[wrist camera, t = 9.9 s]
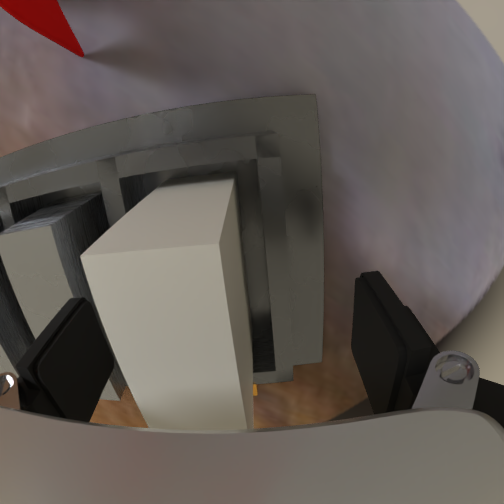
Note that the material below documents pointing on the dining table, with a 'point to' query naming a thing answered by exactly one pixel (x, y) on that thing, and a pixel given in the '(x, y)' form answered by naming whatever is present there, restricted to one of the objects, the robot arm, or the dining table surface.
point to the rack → (147, 180)
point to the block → (179, 304)
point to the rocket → (44, 21)
